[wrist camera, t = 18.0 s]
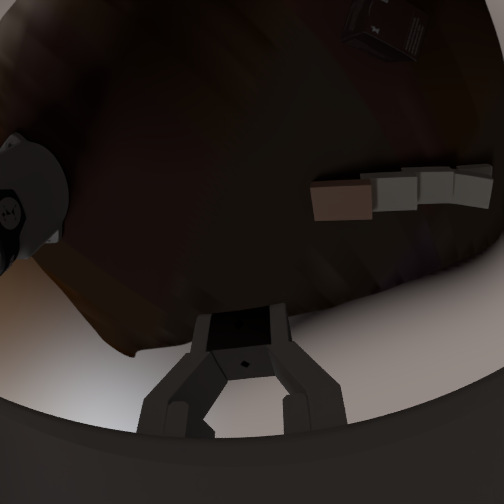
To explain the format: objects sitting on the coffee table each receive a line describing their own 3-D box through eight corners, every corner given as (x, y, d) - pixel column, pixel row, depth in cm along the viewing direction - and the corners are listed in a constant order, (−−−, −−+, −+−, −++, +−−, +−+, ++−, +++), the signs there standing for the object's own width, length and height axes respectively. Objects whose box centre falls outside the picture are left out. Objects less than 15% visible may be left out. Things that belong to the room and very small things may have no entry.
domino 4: (459, 198, 32) (489, 193, 31) (461, 169, 29) (492, 166, 28) (452, 192, 33) (482, 188, 32) (454, 164, 31) (485, 162, 30)
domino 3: (404, 204, 32) (452, 202, 30) (403, 172, 30) (453, 171, 27) (402, 198, 34) (448, 196, 31) (401, 167, 31) (449, 166, 28)
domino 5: (445, 202, 32) (488, 208, 28) (448, 172, 29) (493, 179, 26) (444, 196, 33) (485, 202, 29) (446, 168, 30) (489, 174, 27)
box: (384, 63, 24) (417, 63, 18) (337, 40, 23) (361, 32, 17) (398, 23, 21) (431, 16, 15) (352, 0, 20) (377, -17, 14)
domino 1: (314, 221, 34) (372, 219, 31) (310, 187, 31) (371, 185, 29) (316, 213, 35) (371, 211, 33) (311, 181, 33) (369, 178, 30)
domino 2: (363, 212, 33) (416, 209, 30) (360, 179, 31) (417, 176, 28) (363, 205, 34) (414, 202, 32) (359, 173, 32) (413, 171, 29)
